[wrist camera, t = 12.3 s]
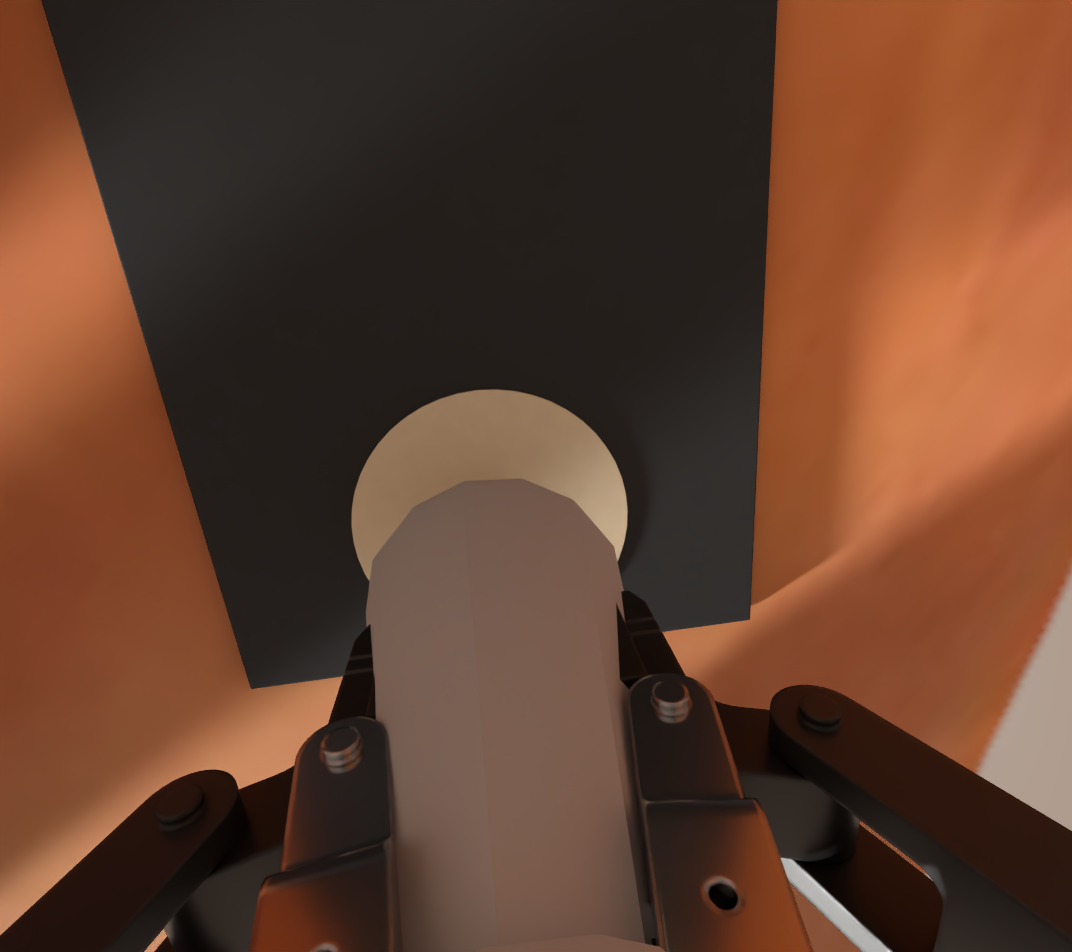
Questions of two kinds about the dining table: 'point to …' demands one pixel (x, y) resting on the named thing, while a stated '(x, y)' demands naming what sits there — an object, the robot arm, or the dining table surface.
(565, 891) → the salt shaker
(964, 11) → the dining table surface
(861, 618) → the dining table surface
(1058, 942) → the robot arm
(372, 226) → the placemat
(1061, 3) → the dining table surface
